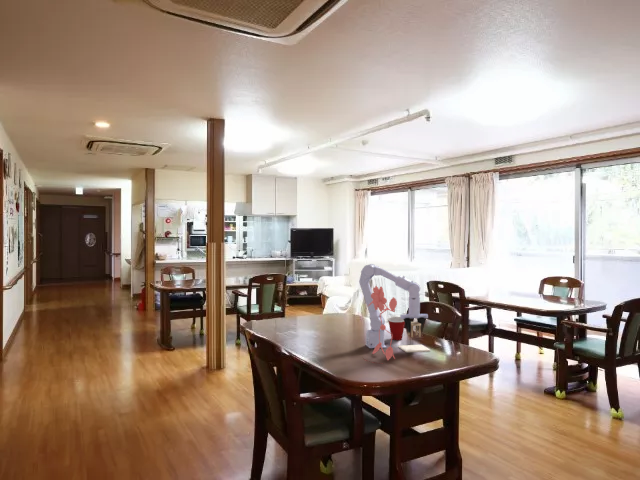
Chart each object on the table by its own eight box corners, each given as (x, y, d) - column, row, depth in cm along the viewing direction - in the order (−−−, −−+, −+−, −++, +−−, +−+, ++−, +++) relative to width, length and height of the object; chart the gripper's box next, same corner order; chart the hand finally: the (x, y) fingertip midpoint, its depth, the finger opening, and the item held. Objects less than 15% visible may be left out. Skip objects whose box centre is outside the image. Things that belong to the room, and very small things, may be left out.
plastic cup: (384, 340, 249) (384, 319, 249) (390, 336, 258) (390, 316, 258) (403, 342, 244) (403, 320, 244) (408, 338, 253) (408, 317, 253)
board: (406, 352, 222) (406, 350, 222) (398, 347, 233) (398, 345, 233) (430, 351, 224) (430, 349, 224) (421, 346, 235) (421, 344, 235)
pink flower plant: (377, 350, 226) (376, 282, 226) (406, 363, 203) (405, 287, 202) (351, 353, 220) (349, 284, 220) (378, 367, 197) (376, 290, 196)
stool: (411, 337, 225) (411, 323, 225) (407, 335, 230) (407, 322, 230) (421, 337, 226) (421, 323, 226) (417, 334, 231) (417, 321, 231)
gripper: (403, 307, 223) (403, 334, 223) (430, 307, 226) (430, 333, 226) (398, 305, 230) (398, 331, 230) (424, 305, 233) (424, 330, 233)
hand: (414, 332), depth 229 cm, fingers closed on stool, 5 cm apart
